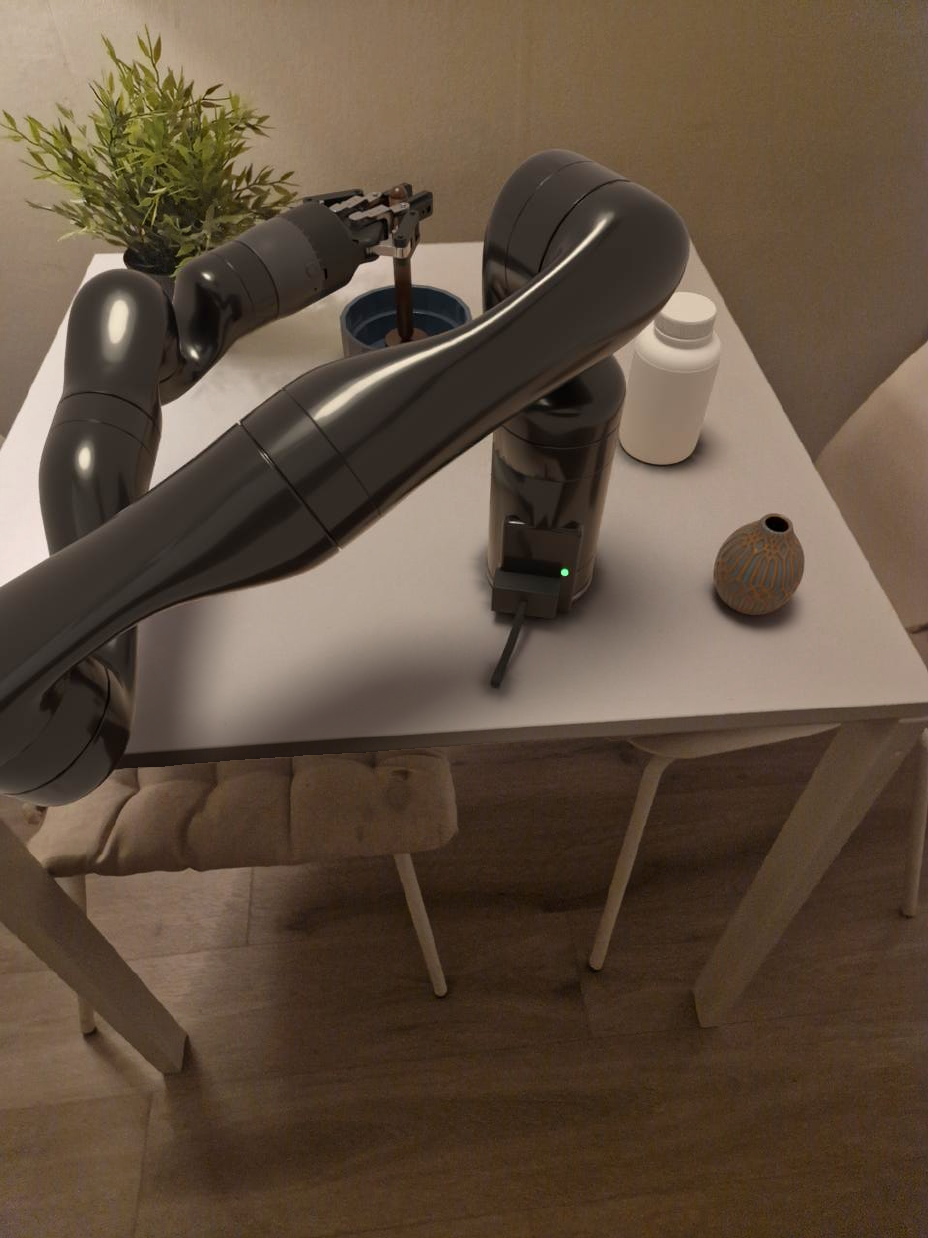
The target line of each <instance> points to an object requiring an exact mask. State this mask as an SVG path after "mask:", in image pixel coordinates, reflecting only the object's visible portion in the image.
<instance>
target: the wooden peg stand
mask: <svg viewBox="0 0 928 1238" xmlns="http://www.w3.org/2000/svg"><path fill="white" fill-rule="evenodd" d="M389 189H390V191H389V207H391V206H393V205H396V204H398V203H402V201H403V200H405V199H407V198H408V197H407V191H406V189H405V188H404V187H403V186H401V185H399V184H395V185H393V186H391V187H390V188H389ZM397 225H398V224H397V217H396V218H395V219H394V227H395V226H397ZM392 267H393V282H394V284H393V285H395V299H396V314H397V329H394V330H392V331H390V332H389V333H388V334H387V335H386V336H385V348H386V347H390V346H394V345H399V344H403V343H407V342H412V341H416V340H420V339H423V338H427V337H428V336H427V334H426V333H425V332H424V331H422V330H420V329H417V328H414V319H413V299H412V284H413V280H412V279H413V278H412V258H411V259H410V261H409V263H408V265H406V266H397V265H396V264H395V258H394V257H392Z"/></svg>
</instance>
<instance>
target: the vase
mask: <svg viewBox="0 0 928 1238" xmlns="http://www.w3.org/2000/svg"><path fill="white" fill-rule="evenodd" d="M804 572H805V552H804V549H803V545H802V544H801V541H800V540H799V538H798V536H797V535H796V533H795V531H794V524H793V522H792V520H791V519H790V518H788V517H787V516H786V515H784V514H781V513H775V512H774V513H773V512H772V513H767V514H765V515H764V516H762V517H761V518H760V519H758V520H755V521H752V522H749V523H746V524H745V525H742V526H741V527H739V528H737V529H736V530H734V531H733V532H732V533H731V534H729V536H728V537H727V538H726V539H725V540H724V541H723V542H722V545H721V547H720V548H719V549H718V552H717V555H716V557H715V561H714V565H713V583H714V587H715V590H716V592H717V594H718V596H719V597H720V599H721V600H722V601H723V602H724V603H725V604H726V605H727V606H728V607H729V608H732V610H734V611H736V612H739V613H741V614H745V615H751V616H752V615H753V616H757V615H758V616H760V615H765V614H769V613H772V612H775V611H776V610H778V609H780V608H781V607H783V606H784V605H785V604H786V603H787V602H788V601H790V599H792V597H793V596H794V595H795V593H796V592H797V590H798V589H799V586H800V584H801V583H802V580H803V576H804Z"/></svg>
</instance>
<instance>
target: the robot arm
mask: <svg viewBox="0 0 928 1238" xmlns="http://www.w3.org/2000/svg"><path fill="white" fill-rule="evenodd" d="M398 185H401V186H403V187H404V188H405V189H406V191H407V197H408V198H407V199H405V200H403V201H402V203H398V204H396V205H393V206H391V207H389V191H390V189H391V188H389V189H387V190H385V191H383V192H380V191H371V192H369V193H367V194H364V190H363V189H361V188H353V189H347V190H341V191H333V192H328V193H321V194H316V195H310V196H305V197H303V198H302V204H299V205H297V206H295V207H293V208H290V209H289V210H286V211H284V212H282V213H280V214H278V215H275V216H273V217H271V218H268V219H267V220H265V221H263V222H260V223H258V224H256V225H254V226H252V227H250V228H248V229H246V230H244V231H243V232H242V233H241V234H239V235H237V236H236V237H235V238H233V239H231V240H230V241H227V242H225V243H222V244H221V245H218V246H216V247H214V248H212V249H210V250H207V251H206V252H204V253H202V254H200V255H197V256H195V257H194V258H192V259H190V260H188V261H186V262H185V263H184V264H182V266H181V267H180V268H179V270H178V272H177V273H176V275H175V281H174V288H173V289H174V290H173V296H172V300H171V297H170V296H169V295H168V292H167V291H166V289H164V288H163V287H162V285H161V284H160V283H159V282H157V280H156V279H154V278H152V277H151V276H150V275H148V274H145V273H144V272H141V271H138V270H135V269H130V268H113V269H108V270H105V271H102V272H99V273H98V274H96V275H94V276H92V277H91V278H90V279H89V280H87V281H86V282H84V284H83V285H82V286H81V288H80V289H79V290H78V291H77V293H76V294H75V297H74V298H73V301H72V304H71V307H70V309H69V315H68V319H67V327H66V337H65V349H64V360H63V361H64V362H63V384H62V385H63V386H62V393H61V396H60V399H59V401H58V403H57V406H56V409H55V412H54V414H53V417H52V420H51V424H50V426H49V430H48V433H47V436H46V437H45V441H44V445H43V447H42V452H41V456H40V460H39V467H38V497H39V498H38V499H39V507H40V508H39V509H40V513H41V520H42V524H43V530H44V535H45V541H46V545H47V551H48V555H49V556H48V557H47V558H45V559H44V560H42V561H40V562H39V563H37V564H35V565H33V566H32V567H31V568H29V569H27V570H26V571H24V572H22V573H20V574H19V575H17V576H16V577H14V578H12V579H11V580H10V581H8V582H6V583H5V584H3V585H1V586H0V795H3V796H6V797H7V798H10V799H14V800H16V801H19V802H22V803H26V804H30V805H34V806H38V807H43V808H54V807H55V808H56V807H63V806H67V805H70V804H73V803H75V802H77V801H80V800H81V799H84V798H85V797H87V796H88V795H90V794H91V793H92V792H94V791H95V790H97V789H98V788H99V787H101V786H102V784H103V783H105V781H106V780H107V779H108V778H109V777H110V776H111V775H112V774H113V772H114V771H115V769H116V768H117V766H118V765H119V763H120V762H121V760H122V759H123V756H124V755H125V752H126V750H127V747H128V744H129V742H130V740H131V737H132V733H133V729H134V725H135V724H134V723H135V718H136V711H137V700H138V683H139V682H138V681H139V631H140V629H139V627H140V624H141V623H143V622H144V621H146V620H148V619H151V618H153V617H155V616H157V615H159V614H161V613H164V612H166V611H169V610H172V609H175V608H177V607H180V606H183V605H186V604H190V603H195V602H197V601H198V602H199V601H202V600H206V599H212V598H216V597H220V596H226V595H230V594H233V593H239V592H243V591H247V590H251V589H252V590H253V589H255V588H260V587H263V586H268V585H273V584H276V583H281V582H283V581H286V580H289V579H292V578H295V577H299V576H301V575H304V574H306V573H309V572H312V571H313V570H315V569H317V568H319V567H320V566H322V565H324V564H325V563H327V562H329V560H331V559H333V558H334V557H335V556H337V555H338V554H339V553H341V551H342V550H344V549H346V548H347V547H349V546H350V545H351V544H352V543H353V542H355V541H356V540H357V539H358V538H360V537H361V536H362V535H363V534H365V533H366V532H367V531H369V530H370V529H371V528H372V527H374V526H375V525H376V524H378V522H380V521H381V520H382V519H384V518H385V517H386V516H387V515H388V514H390V513H391V512H392V511H393V510H394V509H396V508H397V506H399V505H400V504H401V503H402V502H403V501H404V500H406V499H407V498H408V497H409V496H411V494H413V493H414V492H416V491H417V490H418V489H419V488H420V487H421V486H423V485H424V484H425V483H427V482H428V481H429V480H431V479H432V478H433V477H435V476H436V475H438V474H439V473H440V472H441V471H443V470H444V469H446V467H448V466H449V465H450V464H452V463H453V462H455V461H456V460H457V459H458V458H460V457H461V456H462V455H464V454H465V453H467V452H468V451H469V450H471V449H472V448H474V447H475V446H476V445H477V444H478V443H480V442H481V441H483V440H484V439H486V438H488V436H490V435H491V434H492V442H491V443H492V445H491V466H490V469H491V470H490V487H489V490H490V492H489V512H488V513H489V515H488V534H487V535H488V537H487V539H488V540H487V556H486V562H485V568H486V569H485V572H486V576H487V579H488V583H490V585H491V605H490V611H492V612H498V613H499V612H500V613H505V614H514V615H515V616H514V619H513V623H512V626H511V628H510V632H509V634H508V637H507V640H506V643H505V646H504V648H503V651H502V653H501V655H500V658H499V660H498V662H497V664H496V667H495V669H494V672H493V674H492V676H491V679H490V681H489V683H490V685H491V686H493V687H494V688H495V687H499V686H500V683H501V680H502V678H503V676H504V673H505V671H506V668H507V666H508V664H509V661H510V660H511V657H512V654H513V653H514V649H515V648H516V644H517V641H518V638H519V635H520V633H521V629H522V626H523V623H524V620H525V617H526V616H529V617H537V618H544V619H552V620H555V619H556V614H557V612H558V613H565V614H566V613H570V612H571V608H572V604H573V603H574V602H576V601H578V600H579V599H580V598H582V597H583V595H584V594H586V592H587V591H588V589H589V587H590V586H591V584H592V580H593V575H594V563H595V559H596V553H597V547H598V541H599V536H600V531H601V526H602V521H603V515H604V511H605V505H606V500H607V496H608V495H607V494H608V490H609V485H610V484H609V483H610V479H611V474H612V469H613V463H614V458H615V452H616V448H617V444H618V439H619V430H620V423H621V418H622V413H623V408H624V403H625V397H626V391H627V381H626V376H625V373H624V370H623V368H622V365H621V364H620V362H619V361H618V359H617V358H616V356H615V353H617V352H618V351H619V350H621V349H622V348H623V347H625V346H626V345H628V344H629V343H631V341H633V340H634V339H635V338H637V337H638V336H639V334H640V332H641V331H643V330H644V329H645V328H646V327H647V326H648V325H649V324H650V323H652V322H654V319H655V318H656V316H657V315H658V314H659V313H660V312H661V311H662V310H663V308H664V307H665V306H666V304H667V303H668V302H669V300H670V299H671V297H672V296H673V294H674V293H676V291H677V290H678V288H679V285H680V284H681V282H682V279H683V278H684V276H685V272H686V268H687V265H688V261H689V259H690V258H689V257H690V252H691V251H690V250H691V241H690V240H691V239H690V234H689V230H688V227H687V225H686V223H685V221H684V219H683V218H682V216H681V214H680V213H679V211H678V210H676V209H675V208H674V207H673V206H672V205H671V204H670V203H668V202H667V201H666V200H665V199H663V198H662V197H661V196H659V195H658V194H656V193H654V192H653V191H651V190H650V189H648V188H646V187H645V186H643V185H641V184H639V183H637V182H636V181H634V180H632V179H630V178H628V177H626V176H625V175H623V174H620V173H618V172H617V171H615V170H613V169H611V168H609V167H607V166H605V165H603V164H602V163H600V162H598V161H595V160H594V159H591V158H589V157H587V156H586V155H583V154H581V153H578V152H577V151H573V150H570V149H564V148H552V149H551V148H550V149H545V150H543V151H539V152H536V153H534V154H533V155H530V156H529V157H528V158H526V159H525V160H523V161H522V162H521V163H520V164H519V165H517V167H515V169H513V171H512V172H511V173H510V174H509V176H508V177H507V178H506V179H505V181H504V183H503V184H502V185H501V188H500V189H499V191H498V193H497V195H496V197H495V200H494V202H493V204H492V207H491V209H490V213H489V215H488V220H487V223H486V227H485V232H484V239H483V245H482V248H483V249H482V259H481V302H482V308H481V309H482V314H480V315H478V316H477V317H475V318H474V319H472V320H471V321H469V322H467V323H465V324H463V325H461V326H459V327H457V328H455V329H452V330H449V331H447V332H444V333H441V334H438V335H435V336H431V337H427V338H423V339H420V340H416V341H412V342H407V343H403V344H399V345H394V346H390V347H386V348H381V349H377V350H372V351H368V352H364V353H360V354H356V355H352V356H348V357H345V358H344V357H341V358H339V359H336V360H332V361H329V362H327V363H323V364H321V365H319V366H316V367H314V368H312V369H310V370H307V371H306V372H304V373H302V374H301V375H299V376H298V377H296V378H295V379H293V380H291V381H290V382H288V383H287V384H285V385H284V386H283V387H282V388H280V389H279V390H277V391H276V392H275V393H273V394H272V395H270V396H269V397H268V398H267V399H265V400H263V402H261V403H260V404H259V405H257V406H256V407H254V408H253V409H251V411H249V412H248V413H247V414H245V415H244V416H243V417H242V418H240V419H239V420H238V422H234V423H233V424H232V425H231V426H230V427H229V428H227V430H225V431H224V432H223V433H221V435H219V436H218V437H216V438H215V439H214V440H213V441H212V442H211V443H210V444H209V445H207V446H206V447H204V448H203V449H202V450H201V451H199V452H198V453H197V454H196V455H194V456H193V457H192V458H191V459H190V460H188V461H187V462H185V464H183V465H182V466H180V467H179V468H177V469H176V470H175V471H174V472H172V473H171V474H169V475H168V476H167V477H165V478H164V479H163V480H162V481H159V482H158V483H157V484H156V485H154V486H153V487H152V488H151V487H150V486H151V482H152V480H153V474H154V470H155V465H156V461H157V457H158V452H159V450H160V449H159V448H160V444H161V439H162V434H163V421H164V420H163V410H162V409H163V408H162V407H164V406H167V405H169V404H171V403H173V402H174V401H176V400H178V399H180V398H181V397H182V396H185V394H186V393H187V392H189V391H191V389H192V388H193V387H195V385H196V384H198V383H199V382H200V381H201V379H203V378H204V377H205V376H206V375H207V373H209V372H210V371H211V370H212V369H213V368H214V366H216V365H217V364H218V363H219V362H220V361H221V360H222V359H223V358H224V357H225V355H226V354H227V353H228V352H229V351H230V350H231V348H232V347H234V345H235V344H236V343H237V342H238V341H241V340H243V339H245V338H247V337H249V336H250V335H253V334H254V333H257V332H258V331H260V330H262V329H263V328H265V327H267V326H269V325H271V324H273V323H274V322H277V321H280V320H283V319H285V318H288V317H291V316H293V315H295V314H297V313H299V312H301V311H303V310H305V309H306V308H308V307H310V306H312V305H314V304H316V303H317V302H319V301H321V300H324V299H325V298H326V297H328V296H330V295H332V294H334V293H336V292H337V291H339V290H341V289H343V288H344V287H346V286H347V285H349V284H350V283H351V281H352V280H353V277H354V276H355V273H356V271H357V270H358V268H359V267H360V266H361V265H364V264H368V263H373V262H375V261H378V259H379V258H380V256H381V257H390V258H393V257H394V258H395V264H396V265H397V266H406V265H408V263H409V261H410V259H411V260H412V257H413V256H414V253H415V251H416V249H417V248H418V245H419V243H420V242H421V233H420V222H421V221H424V220H426V219H427V218H429V217H431V216H432V215H433V214H434V197H433V196H434V195H433V192H432V191H429V190H427V189H423V190H421V191H419V192H417V193H415V194H413V185H412V184H411V183H408V182H406V181H403V182H402V183H400V184H398ZM396 217H397V224H398V225H397V226H395V227H394V219H395V218H396ZM150 488H151V489H150ZM340 550H341V551H340Z"/></svg>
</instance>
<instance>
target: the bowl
mask: <svg viewBox="0 0 928 1238" xmlns="http://www.w3.org/2000/svg"><path fill="white" fill-rule="evenodd" d="M412 299H413V319H414V328H417V329H420V330H422V331H424V332H425V333H426V334H427V336H428V337H431V336H435V335H438V334H441V333H444V332H447V331H449V330H452V329H455V328H457V327H459V326H461V325H463V324H465V323H467V322H469V321H471V320H473V315H472V312H471V309H470V306H468V305H467V303H466V302H465V301H463V299H462V298H461V297H459V296H457V295H455V294H454V293H452V292H450V291H448V290H446V289H443V288H439V287H436V286H432V285H428V284H427V285H425V284H416V283H415V284H413V283H412ZM339 326H340V335H341V343H342V350H343V358H345V357H348V356H352V355H356V354H360V353H364V352H368V351H372V350H377V349H381V348H385V336H386V335H387V334H388V333H389V332H390V331H392V330H394V329H397V314H396V299H395V284H389V285H385V286H381V287H376V288H373V289H369V290H368V291H366V292H363V293H361V294H359V295H357V296H355V297H354V298H352V300H351V301H349V302H348V303H347V304H346V305H345V306H344V308H343V310H342V311H341V313H340V315H339Z"/></svg>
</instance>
